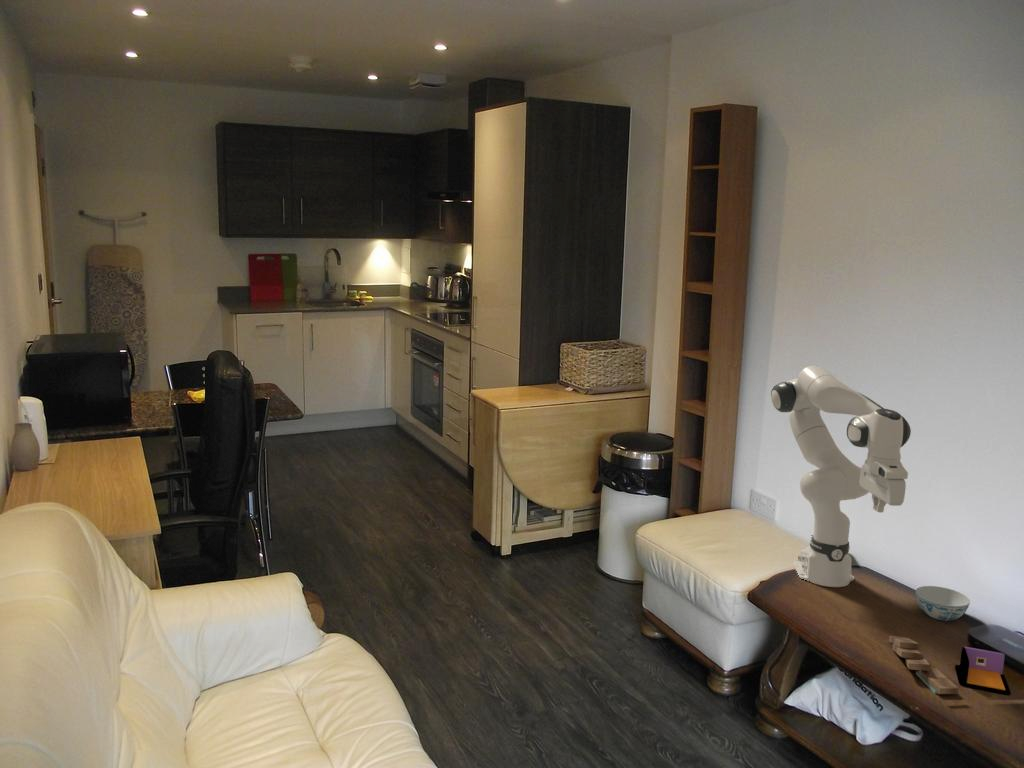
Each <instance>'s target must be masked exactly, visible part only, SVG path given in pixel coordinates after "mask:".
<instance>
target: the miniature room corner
mask: <svg viewBox="0 0 1024 768" xmlns="http://www.w3.org/2000/svg"><path fill="white" fill-rule="evenodd" d="M1005 656H1006V655H1005V654H1004V653H1002V652H998V651H992V650H987V649H982V648H981V649H980V648H975V647H968V646H962V647H961V652H960V658H959V659H960V660H959V665H958V664H956V665H955V666H954V670H955V674H956V678H957V681H958V682H957V683H958V684H959V686H961V687H963V688H966V689H967V688H968V689H972V690H977V691H982V692H988V693H992V694H998V695H1004V696H1010V695H1011V690H1010V687H1009V684H1008V682H1007V679H1006V676H1005V675H1004V674H1003V671H1004V665H1005V663H1004V662H1005ZM979 660H983V662H979Z"/></svg>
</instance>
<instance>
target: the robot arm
mask: <svg viewBox="0 0 1024 768" xmlns="http://www.w3.org/2000/svg"><path fill="white" fill-rule="evenodd" d="M770 397H771V402H772V406H773V407H774V409H776V410H777V411H778V412H780V413H789V416H788V418H789V424H790V427H791V430H792V433H793V436H794V438H795V441H796V443H797V445H798V447H799V449H800V452H801V454H802V455H803V458H804V460H805V461H806V462H808V463H809V464H811V465H813V466H815V467H816V468H818V469H815V470H812V471H809V472H806V473H805V474H803V475H802V477H801V478H800V483H799V489H800V493H801V494H802V496H803V497H804V498H805V500H807V501H808V502H809V504H810V506H811V507H812V510H813V514H814V519H813V523H814V524H813V534H812V535H810V536H811V537H810V538H811V539H810V542H809V545H808V546H807V547H805V548H802V550H801V551H800V554H798V555H797V560H793V561H792V564H793V567H794V570H795V572H796V571H797V572H796V574H797V573H798V574H797V576H798V575H799V577H800V578H801V579H804V580H803V581H805V580H807V581H806V582H809V581H810V583H813V584H815V585H817V586H821V587H822V586H823V587H828V588H842V587H843V588H844V587H846V586H849V584H850V583H851V582H852V581H854V580H855V576H854V575H852V556H851V555H850V554H849V552H850V548H849V547H850V542H849V535H850V526H851V520H850V518H849V517H848V515H846V514H845V513H844V512H842V510H841V506H840V505H841V501H847V500H848V501H849V500H856V499H858V498H861V497H863V496H866V495H867V494H871V499H872V503H873V504H872V505H873V506H872V509H873V510H874V511H876V512H878V513H883V512H884V511H885V506H886V504H888V505H889V506H898V507H899V506H902V505H903V503H904V501H905V494H906V487H907V484H906V480H907V479H908V476H909V475H908V474H909V472H908V471H907V470H906V468H905V467H904V465H903V463H902V462H901V448H902V447H904V445H905V444H907V442H908V441H909V439H910V437H911V434H912V433H911V432H912V430H911V429H912V428H911V427H910V424H909V422H908V420H907V419H906V418H905V417H904V416H903V415H901V414H900V412H897V411H895V410H893V409H888V408H885V407H883V406H881V405H880V404H878V403H877V402H875V401H874V400H872V399H871V398H869V397H868V396H866V395H864V394H862V393H861V392H859V391H856V390H855V389H852V387H849V386H847V385H846V384H845V383H843V382H841V380H839V379H837V378H836V377H835V376H834V375H833V374H832V373H830V372H828V371H827V370H826V369H825V368H822V367H819V366H817V365H808V366H806V367H804V368H803V369H802V370H801V371H799V373H798V375H797V377H796V378H793V379H790V380H787V381H781V382H779V383H777V384H775V385H774V386H773V387H772V389H771V392H770ZM820 411H823V412H824V413H828V414H841V415H849V416H850V415H851V416H854V417H851V419H850V420H849V422H848V423H847V427H846V436H847V440H848V441H849V443H850V444H852V445H853V446H854V447H858V448H862V449H863V448H864V449H865V448H866V449H868V450H867V451H868V452H867V458H866V460H864V464H862V465H861V466H860V467H859V466H858V465H856V464H855V463H854V462H852V461H851V460H850V459H849V458H848V457H847V456H846V455H845V454H844V453H843V452H842V451H841V449H839V447H838V445H837V444H836V443H835V441H834V439H833V436H832V435H831V433H830V431H829V429H828V427H827V425H826V424H825V422H824V420H823V418H822V416H821V412H820ZM799 577H798V578H799ZM801 579H800V580H801Z"/></svg>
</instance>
